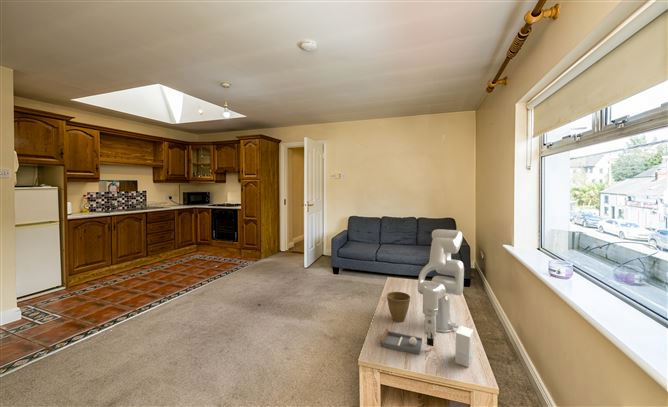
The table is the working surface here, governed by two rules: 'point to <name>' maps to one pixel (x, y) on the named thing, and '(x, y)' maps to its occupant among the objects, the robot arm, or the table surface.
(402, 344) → the tray
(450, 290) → the robot arm
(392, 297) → the plant pot
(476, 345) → the table surface
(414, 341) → the ball
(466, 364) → the skincare box
